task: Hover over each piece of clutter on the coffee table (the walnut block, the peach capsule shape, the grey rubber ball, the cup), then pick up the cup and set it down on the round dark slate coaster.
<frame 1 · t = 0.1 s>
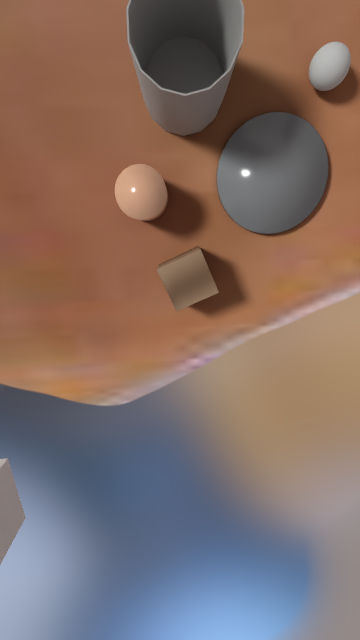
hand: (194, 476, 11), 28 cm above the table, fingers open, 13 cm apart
peach capsule shape: (146, 197, 34), on the table
coaster: (270, 177, 33), on the table
grey ball: (320, 76, 30), on the table
walnut block: (187, 274, 36), on the table
cup: (183, 90, 31), on the table
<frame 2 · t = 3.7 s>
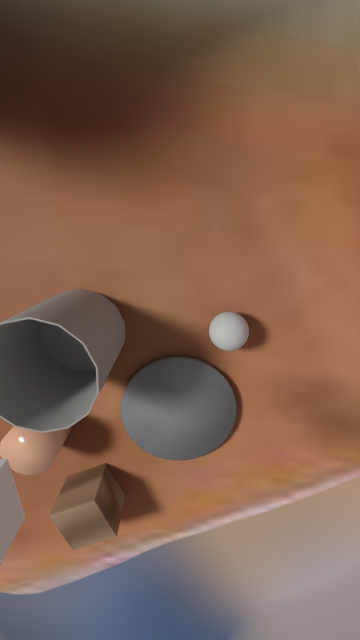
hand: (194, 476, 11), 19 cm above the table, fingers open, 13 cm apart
peach capsule shape: (50, 420, 32), on the table
coaster: (178, 408, 32), on the table
grey ball: (226, 325, 29), on the table
walnut block: (96, 485, 35), on the table
cup: (84, 330, 29), on the table
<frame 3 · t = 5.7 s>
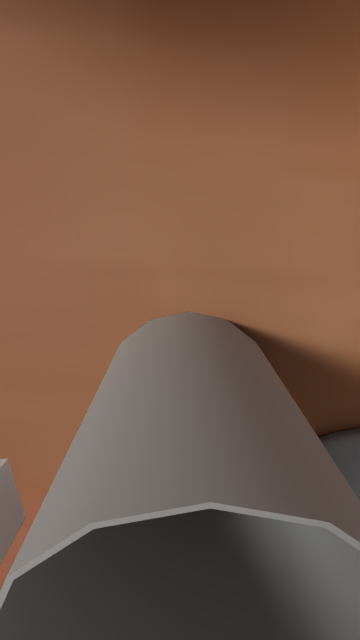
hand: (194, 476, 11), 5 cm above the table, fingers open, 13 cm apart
coaster: (348, 512, 18), on the table
cup: (188, 388, 15), on the table
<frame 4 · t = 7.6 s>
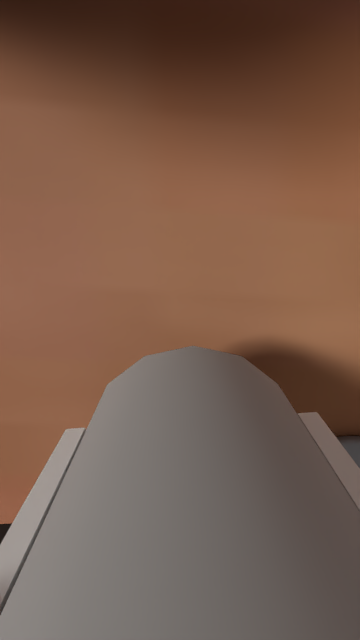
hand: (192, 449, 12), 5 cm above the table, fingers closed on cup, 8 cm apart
coaster: (339, 516, 19), on the table
cup: (191, 437, 12), point 5 cm above the table, touching gripper
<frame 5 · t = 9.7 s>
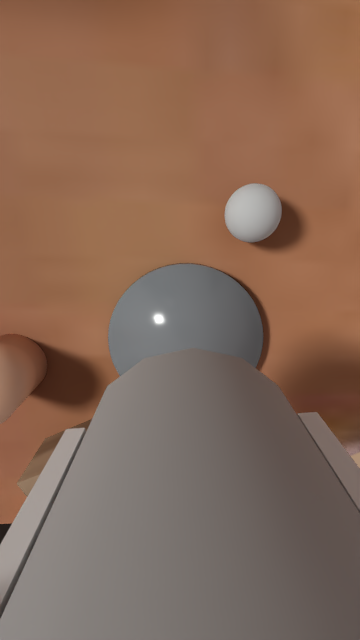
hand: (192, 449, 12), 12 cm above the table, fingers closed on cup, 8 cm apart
peach capsule shape: (16, 362, 24), on the table
coaster: (185, 338, 24), on the table
grey ball: (246, 215, 21), on the table
walnut block: (84, 449, 27), on the table
cup: (191, 439, 12), point 12 cm above the table, touching gripper
when the fingers open (3 cm above the table, at t = 11.7 s): cup drops 2 cm, resting on coaster.
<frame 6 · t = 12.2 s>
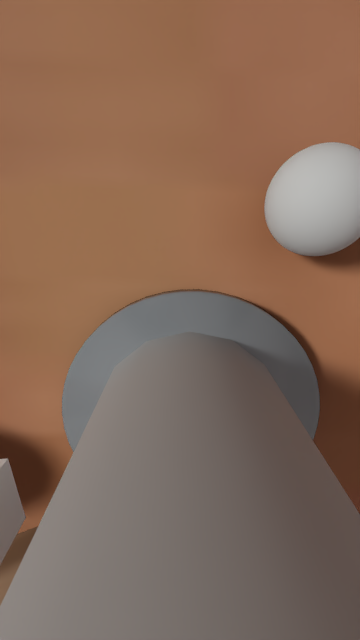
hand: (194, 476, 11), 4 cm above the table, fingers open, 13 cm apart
coaster: (190, 409, 15), on the table
grey ball: (298, 206, 12), on the table
walnut block: (36, 563, 18), on the table
cup: (189, 414, 14), point 1 cm above the table, touching coaster
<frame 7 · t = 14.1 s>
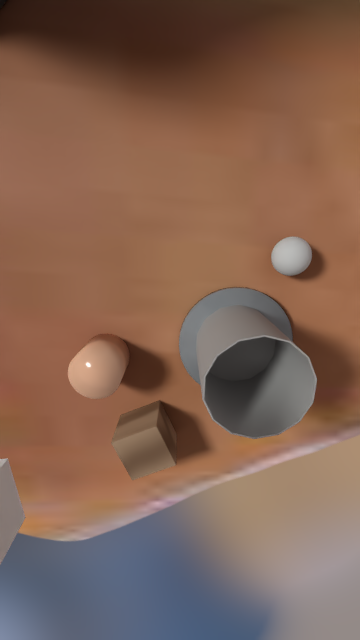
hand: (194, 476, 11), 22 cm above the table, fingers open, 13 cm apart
peach capsule shape: (107, 355, 33), on the table
coaster: (234, 341, 32), on the table
grey ball: (284, 255, 30), on the table
walnut block: (149, 424, 35), on the table
cup: (234, 342, 32), point 1 cm above the table, touching coaster
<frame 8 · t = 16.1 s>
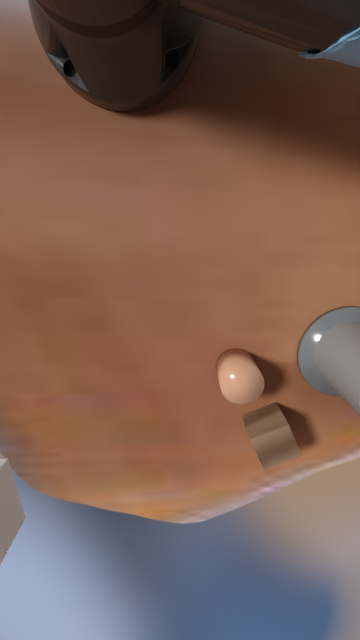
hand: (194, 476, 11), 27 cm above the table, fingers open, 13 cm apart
peach capsule shape: (234, 366, 39), on the table
coaster: (343, 351, 38), on the table
walnut block: (265, 422, 41), on the table
cup: (346, 352, 37), point 1 cm above the table, touching coaster
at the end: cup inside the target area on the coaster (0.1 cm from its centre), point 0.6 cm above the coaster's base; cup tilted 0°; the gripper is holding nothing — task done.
